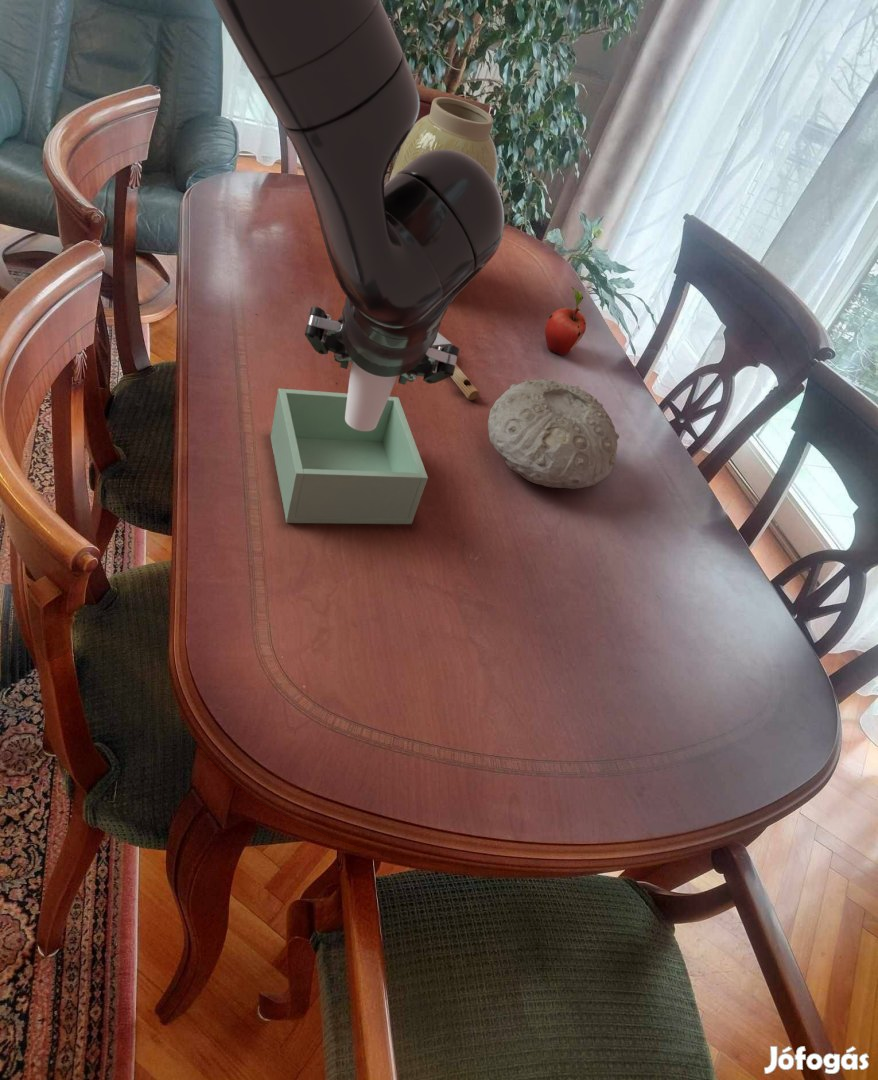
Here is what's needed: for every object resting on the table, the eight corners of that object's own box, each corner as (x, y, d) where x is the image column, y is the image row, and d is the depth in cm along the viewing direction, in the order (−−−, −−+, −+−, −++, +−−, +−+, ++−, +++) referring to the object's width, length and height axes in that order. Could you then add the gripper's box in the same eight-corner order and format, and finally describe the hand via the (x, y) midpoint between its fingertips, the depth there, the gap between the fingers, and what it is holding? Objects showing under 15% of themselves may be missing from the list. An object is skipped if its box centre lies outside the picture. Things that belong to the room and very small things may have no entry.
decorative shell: (610, 518, 102) (645, 460, 95) (481, 491, 99) (507, 429, 92) (589, 435, 115) (618, 379, 108) (474, 409, 111) (497, 349, 105)
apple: (583, 361, 130) (608, 308, 124) (551, 363, 127) (575, 308, 120) (558, 335, 135) (581, 282, 128) (527, 336, 131) (549, 282, 125)
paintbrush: (421, 305, 122) (486, 387, 112) (416, 320, 124) (480, 402, 114) (400, 306, 120) (465, 389, 110) (395, 321, 122) (459, 404, 112)
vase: (349, 256, 133) (384, 86, 115) (416, 242, 145) (458, 86, 127) (420, 308, 128) (469, 137, 110) (484, 289, 139) (538, 132, 121)
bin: (286, 523, 85) (296, 473, 80) (270, 437, 95) (278, 388, 90) (411, 524, 91) (428, 477, 86) (385, 443, 100) (398, 396, 95)
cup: (326, 409, 81) (349, 306, 73) (369, 402, 84) (396, 303, 76) (351, 441, 78) (378, 338, 70) (395, 433, 82) (426, 333, 73)
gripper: (487, 298, 63) (451, 349, 80) (313, 247, 61) (313, 311, 78) (466, 388, 63) (434, 420, 80) (290, 339, 61) (295, 383, 78)
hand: (374, 366), depth 79 cm, fingers closed on cup, 5 cm apart
